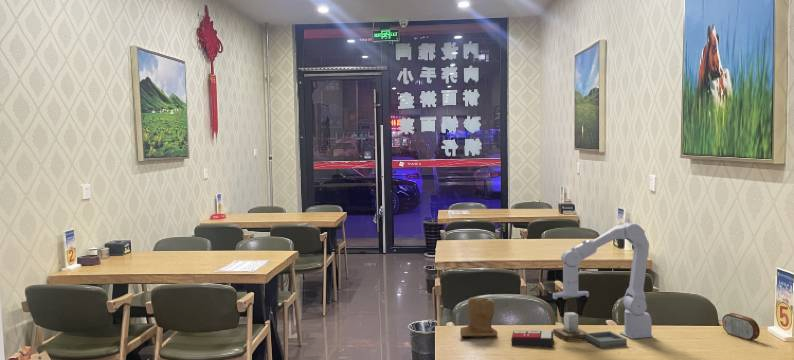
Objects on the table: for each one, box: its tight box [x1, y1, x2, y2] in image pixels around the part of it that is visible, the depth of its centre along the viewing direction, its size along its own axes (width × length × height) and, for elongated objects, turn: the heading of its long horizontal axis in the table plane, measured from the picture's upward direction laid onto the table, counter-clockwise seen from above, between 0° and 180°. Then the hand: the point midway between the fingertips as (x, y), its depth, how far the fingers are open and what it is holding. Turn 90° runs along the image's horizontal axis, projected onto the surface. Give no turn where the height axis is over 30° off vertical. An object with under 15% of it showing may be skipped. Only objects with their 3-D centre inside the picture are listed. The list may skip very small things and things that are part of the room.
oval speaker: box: [721, 312, 761, 341], centre depth 241 cm, size 15×3×8 cm, turn 20°
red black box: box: [510, 329, 554, 349], centre depth 238 cm, size 11×4×15 cm
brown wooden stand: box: [459, 297, 499, 338], centre depth 248 cm, size 15×12×15 cm
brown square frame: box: [552, 327, 588, 342], centre depth 245 cm, size 10×10×2 cm
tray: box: [583, 330, 628, 349], centre depth 236 cm, size 11×11×2 cm
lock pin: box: [563, 311, 579, 334], centre depth 245 cm, size 4×4×9 cm
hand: (570, 316), depth 245 cm, fingers open, 7 cm apart
